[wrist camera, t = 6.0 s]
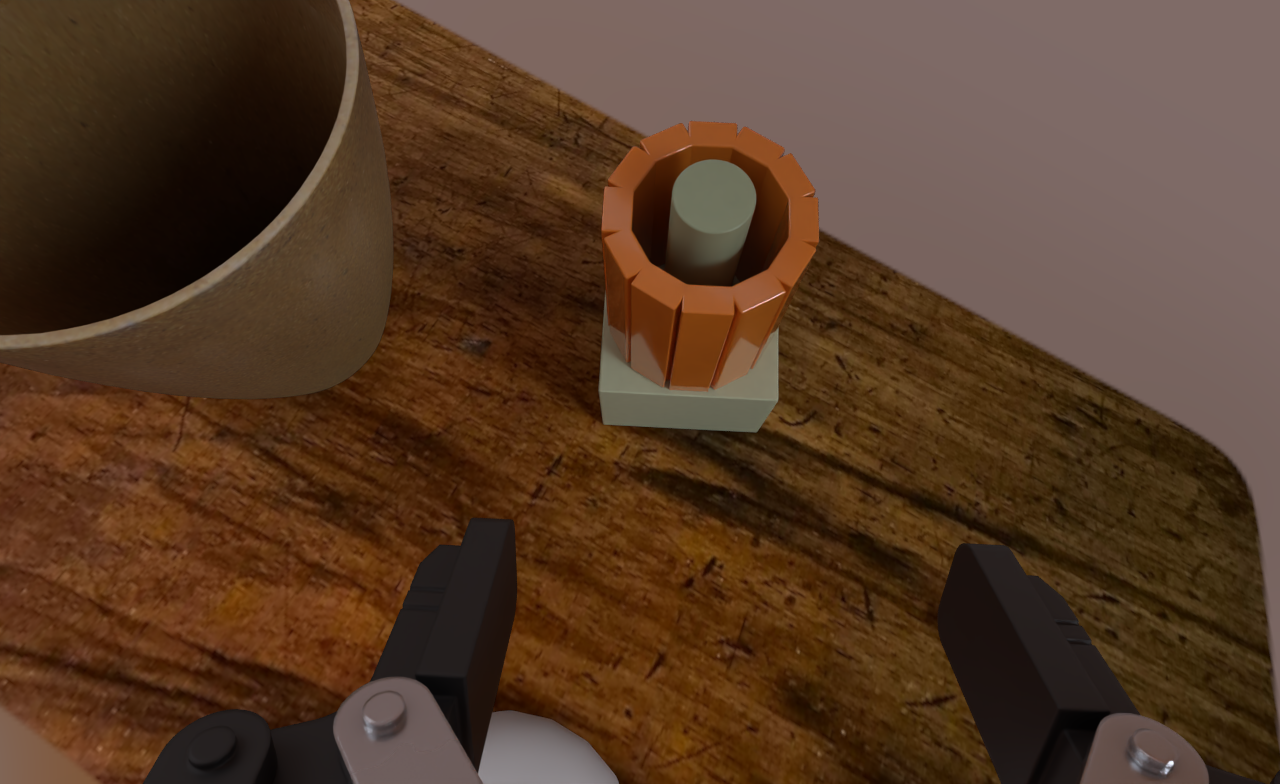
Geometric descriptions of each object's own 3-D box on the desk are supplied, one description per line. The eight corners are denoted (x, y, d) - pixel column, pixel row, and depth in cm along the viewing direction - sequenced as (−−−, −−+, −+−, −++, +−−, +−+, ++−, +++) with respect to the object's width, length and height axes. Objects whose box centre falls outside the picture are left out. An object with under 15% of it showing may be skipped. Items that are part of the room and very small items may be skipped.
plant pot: (362, 536, 32) (114, 456, 17) (75, 385, 34) (-388, 186, 18) (533, 250, 36) (460, -28, 21) (268, 128, 38) (20, -211, 22)
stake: (758, 290, 35) (832, 99, 22) (757, 432, 33) (837, 312, 20) (612, 283, 35) (602, 88, 22) (602, 424, 33) (585, 299, 21)
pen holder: (773, 243, 31) (817, 126, 23) (773, 395, 29) (821, 319, 22) (614, 234, 31) (609, 115, 23) (603, 386, 29) (595, 307, 22)
